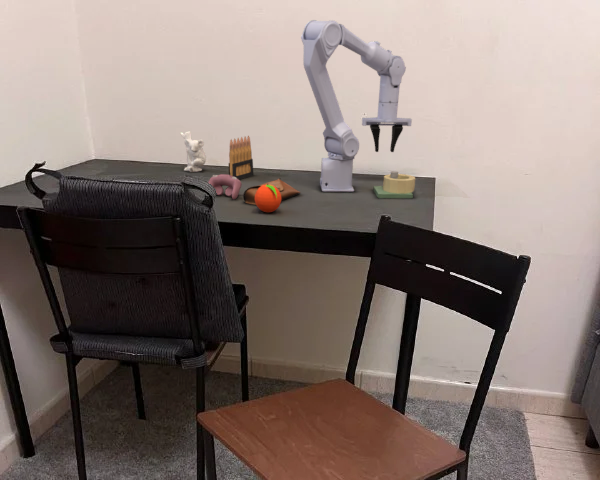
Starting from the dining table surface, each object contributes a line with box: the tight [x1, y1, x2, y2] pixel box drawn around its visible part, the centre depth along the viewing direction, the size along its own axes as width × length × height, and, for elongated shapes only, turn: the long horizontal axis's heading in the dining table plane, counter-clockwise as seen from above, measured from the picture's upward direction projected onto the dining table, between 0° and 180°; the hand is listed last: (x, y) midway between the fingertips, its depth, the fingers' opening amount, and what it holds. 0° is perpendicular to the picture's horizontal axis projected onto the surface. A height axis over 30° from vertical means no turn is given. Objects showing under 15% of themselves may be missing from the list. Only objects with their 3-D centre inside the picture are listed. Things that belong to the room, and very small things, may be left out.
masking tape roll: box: [382, 173, 416, 193], centre depth 179 cm, size 9×9×4 cm
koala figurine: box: [179, 130, 207, 173], centre depth 201 cm, size 8×7×12 cm
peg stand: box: [372, 170, 414, 199], centre depth 178 cm, size 10×10×6 cm
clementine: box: [255, 184, 282, 213], centre depth 159 cm, size 8×7×7 cm
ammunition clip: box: [228, 135, 254, 180], centre depth 193 cm, size 11×2×12 cm, turn 148°
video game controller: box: [207, 173, 242, 200], centre depth 173 cm, size 10×5×7 cm, turn 71°
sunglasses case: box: [242, 177, 301, 206], centre depth 173 cm, size 18×7×7 cm
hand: (384, 151), depth 187 cm, fingers open, 4 cm apart
